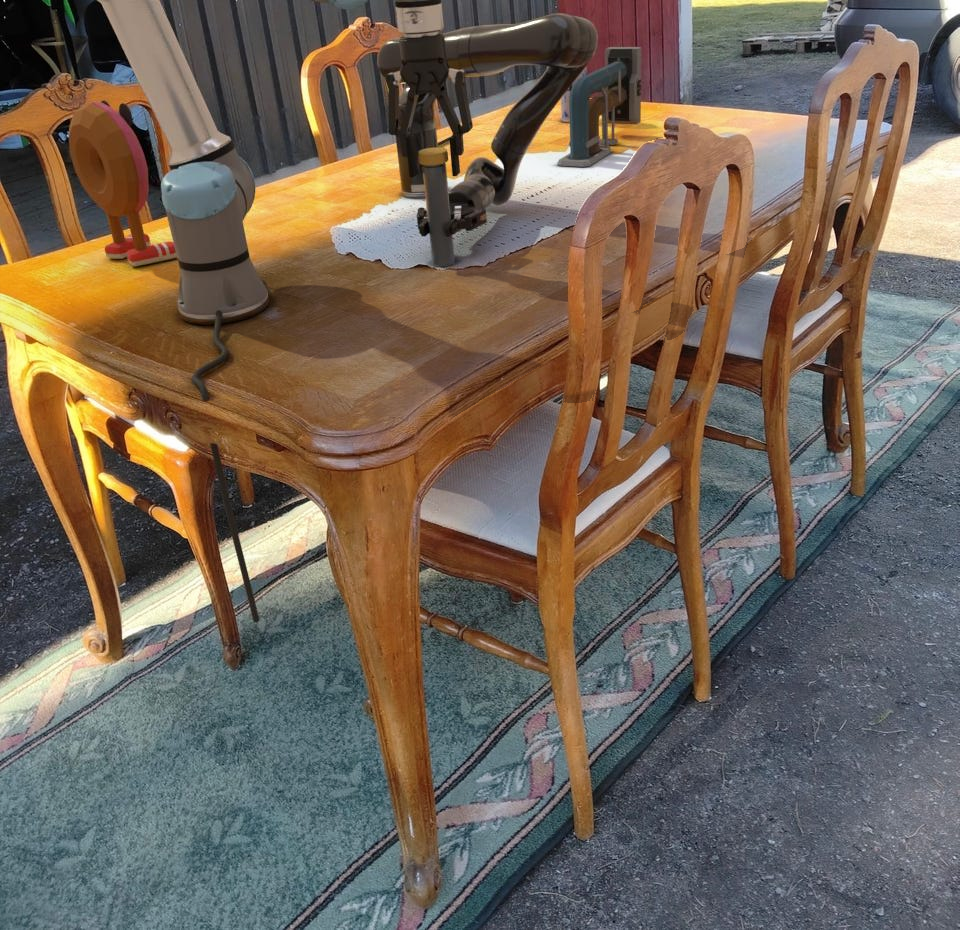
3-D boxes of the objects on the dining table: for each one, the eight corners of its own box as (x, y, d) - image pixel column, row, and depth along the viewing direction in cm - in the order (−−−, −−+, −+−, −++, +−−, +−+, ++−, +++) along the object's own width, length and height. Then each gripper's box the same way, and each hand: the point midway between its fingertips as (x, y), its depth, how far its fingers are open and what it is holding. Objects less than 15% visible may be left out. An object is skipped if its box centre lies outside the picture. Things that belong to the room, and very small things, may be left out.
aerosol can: (559, 122, 275) (557, 47, 265) (562, 117, 282) (559, 42, 272) (587, 121, 274) (585, 45, 263) (589, 115, 280) (587, 41, 270)
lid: (448, 163, 167) (447, 152, 166) (419, 166, 167) (417, 155, 166) (448, 157, 171) (447, 146, 171) (418, 159, 171) (417, 148, 170)
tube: (458, 260, 179) (449, 153, 169) (447, 267, 176) (436, 159, 166) (440, 258, 181) (429, 152, 171) (428, 265, 178) (416, 157, 168)
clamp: (588, 167, 230) (586, 71, 219) (554, 165, 234) (551, 71, 223) (640, 133, 256) (641, 47, 245) (609, 132, 260) (609, 47, 249)
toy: (191, 258, 192) (154, 99, 176) (145, 273, 186) (103, 110, 170) (136, 241, 205) (97, 91, 189) (92, 254, 199) (48, 101, 183)
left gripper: (356, 40, 158) (374, 181, 169) (475, 33, 153) (486, 179, 165) (370, 33, 164) (387, 170, 176) (485, 27, 160) (494, 168, 171)
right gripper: (428, 184, 187) (395, 210, 173) (498, 184, 183) (471, 211, 169) (432, 222, 191) (400, 250, 177) (501, 223, 186) (474, 252, 173)
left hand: (435, 174), depth 170 cm, fingers open, 7 cm apart
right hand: (435, 231), depth 173 cm, fingers closed on tube, 4 cm apart
